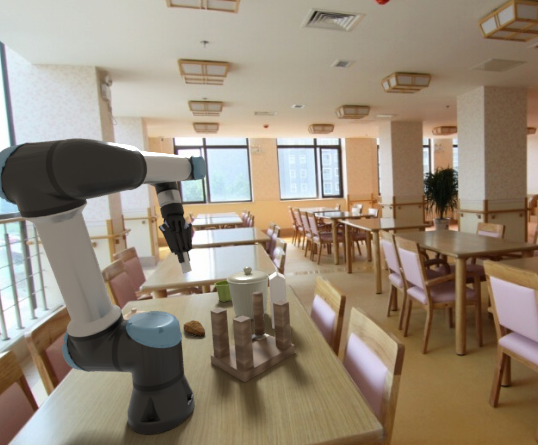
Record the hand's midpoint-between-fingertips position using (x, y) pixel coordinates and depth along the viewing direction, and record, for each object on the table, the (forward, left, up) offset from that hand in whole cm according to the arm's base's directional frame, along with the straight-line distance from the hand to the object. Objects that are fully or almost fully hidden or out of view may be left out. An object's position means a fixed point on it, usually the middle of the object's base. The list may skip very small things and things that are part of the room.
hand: (187, 271), depth 105 cm
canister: (+32, +7, -27) cm, 42 cm away
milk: (+32, -10, -27) cm, 43 cm away
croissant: (+7, +12, -27) cm, 31 cm away
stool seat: (+9, -20, -27) cm, 35 cm away
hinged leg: (+13, -15, -24) cm, 31 cm away
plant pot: (+38, +33, -27) cm, 57 cm away
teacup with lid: (-8, +24, -27) cm, 37 cm away
